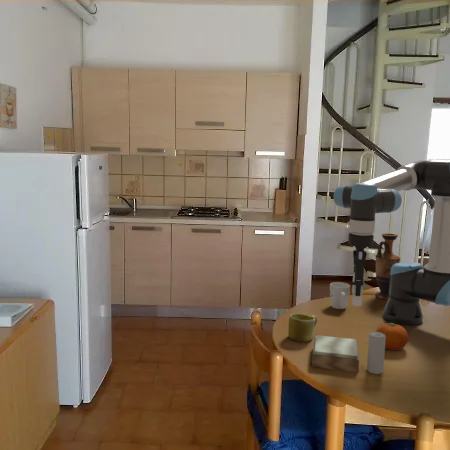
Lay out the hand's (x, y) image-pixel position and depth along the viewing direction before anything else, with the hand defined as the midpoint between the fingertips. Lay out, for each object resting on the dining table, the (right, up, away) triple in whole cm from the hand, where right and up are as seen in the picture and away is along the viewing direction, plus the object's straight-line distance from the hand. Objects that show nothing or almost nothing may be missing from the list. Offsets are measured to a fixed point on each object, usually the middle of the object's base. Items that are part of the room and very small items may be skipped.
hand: (356, 299), depth 144 cm
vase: (+34, -11, +69) cm, 78 cm away
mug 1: (-13, -18, +21) cm, 31 cm away
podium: (-6, -20, +3) cm, 21 cm away
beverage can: (+4, -22, -4) cm, 23 cm away
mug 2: (+8, -13, +53) cm, 55 cm away
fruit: (+16, -19, +13) cm, 28 cm away
